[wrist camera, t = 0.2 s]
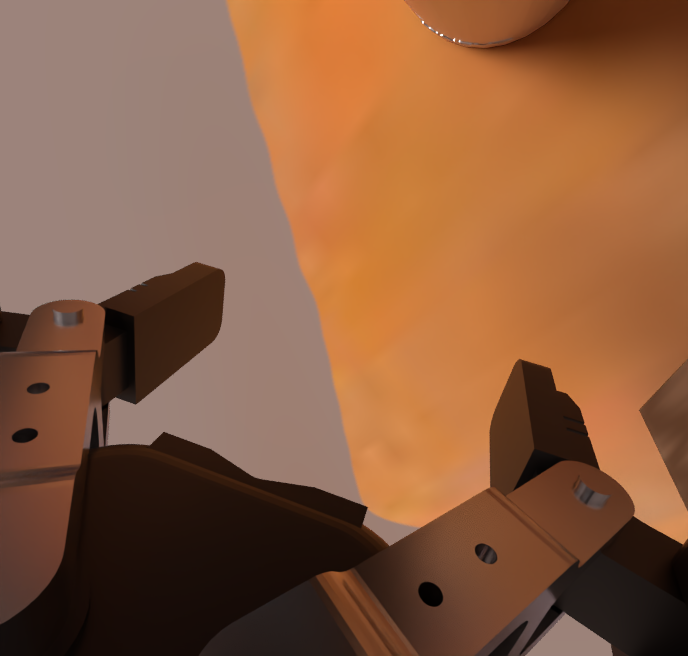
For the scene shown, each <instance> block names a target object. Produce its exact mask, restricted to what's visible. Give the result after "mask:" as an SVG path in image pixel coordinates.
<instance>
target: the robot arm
mask: <svg viewBox="0 0 688 656" xmlns="http://www.w3.org/2000/svg"><path fill="white" fill-rule="evenodd" d="M404 1H405V2H406V3H407V4H408V5H409V7H410V8H411V9H412V10H413V11H414V12H415V13H416V15H417V16H418V17H419V18H420V19H421V22H422V23H423V24H424V25H425V26H427V27H428V28H429V29H430V30H432V31H433V32H434V33H436V34H438V35H439V36H441V37H442V38H444V39H445V40H447V41H450V42H453V43H456V44H459V45H462V46H465V47H477V48H488V47H494V46H500V45H506V44H508V43H511V42H513V41H516V40H518V39H521V38H524V37H526V36H528V35H529V34H531V33H532V32H534V31H535V30H537V29H538V28H540V27H542V26H543V25H545V24H546V23H547V22H548V21H550V20H551V19H552V18H553V17H554V16H555V15H556V14H557V13H558V12H559V11H560V10H561V9H562V8H564V7H565V6H566V4H567V3H568V2H569V1H570V0H404ZM224 288H225V274H224V272H223V270H221V269H218V268H215V267H211V266H208V265H205V264H201V263H198V262H195V263H192V264H190V265H188V266H186V267H184V268H182V269H180V270H178V271H176V272H174V273H171V274H166V275H162V276H156V277H154V278H151V279H149V280H147V281H145V282H143V283H142V284H141V285H140V284H139V285H137V286H135V287H133V288H131V289H130V290H126V291H124V292H122V293H120V294H118V295H116V296H114V297H112V298H110V299H107V300H106V301H103V302H101V303H99V304H95V303H93V302H89V301H84V300H58V301H52V302H49V303H45V304H43V305H40V306H38V307H37V308H35V309H34V310H33V311H32V312H31V314H30V315H25V314H19V313H10V312H3V311H1V308H0V656H525V655H526V654H527V653H528V652H529V651H530V650H531V649H532V648H533V647H534V646H535V645H536V644H537V643H538V642H539V641H540V640H541V639H542V638H543V637H544V636H545V635H546V633H548V631H549V630H550V629H551V628H552V627H553V626H554V625H555V624H556V623H557V622H558V621H559V620H560V619H561V618H562V617H563V616H564V615H565V613H566V614H568V615H569V616H571V617H572V618H574V619H575V620H576V621H578V622H579V623H581V624H583V625H584V626H585V627H587V628H588V629H590V630H591V631H593V632H594V633H596V634H597V635H599V636H600V637H602V638H603V639H605V640H606V641H607V642H609V643H610V644H611V648H612V653H613V656H688V539H687V540H686V542H685V543H684V544H681V543H679V542H677V541H675V540H674V539H672V538H670V537H668V536H666V535H665V534H663V533H661V532H659V531H657V530H655V529H654V528H652V527H650V526H648V525H647V524H645V523H643V522H642V521H640V520H638V519H637V518H636V517H634V516H633V515H634V512H635V508H634V504H633V501H632V499H631V497H630V496H629V494H628V493H627V492H626V490H625V489H624V488H623V487H622V486H621V485H620V484H619V483H618V482H617V481H615V480H614V479H613V478H612V477H610V476H609V475H607V474H606V473H604V472H603V471H601V470H600V469H599V465H598V462H597V459H596V456H595V453H594V450H593V447H592V444H591V441H590V438H589V437H588V432H587V429H586V426H585V425H584V420H583V417H582V414H581V410H580V408H579V407H578V406H577V405H576V404H575V402H574V401H573V400H572V399H571V398H570V397H569V395H568V394H566V393H563V392H560V391H556V387H555V383H554V379H553V375H552V372H551V369H550V368H548V367H544V366H541V365H537V364H534V363H531V362H527V361H524V360H521V359H519V360H518V361H517V362H516V363H515V365H514V367H513V369H512V372H511V374H510V376H509V379H508V381H507V383H506V386H505V388H504V390H503V393H502V395H501V397H500V400H499V402H498V404H497V407H496V409H495V412H494V414H493V418H492V421H491V426H490V488H488V489H486V490H484V491H482V492H481V493H479V494H477V495H476V496H474V497H472V498H471V499H469V500H467V501H465V502H464V503H462V504H460V505H459V506H457V507H455V508H454V509H452V510H450V511H448V512H447V513H445V514H443V515H442V516H440V517H438V518H437V519H435V520H433V521H432V522H430V523H428V524H426V525H425V526H423V527H421V528H420V529H418V530H416V531H415V532H413V533H411V534H410V535H408V536H406V537H404V538H403V539H401V540H399V541H398V542H396V543H394V544H393V545H391V546H389V545H388V544H387V543H386V542H385V541H384V540H383V539H382V538H380V537H379V536H378V535H377V534H375V533H374V532H373V531H372V530H370V529H369V528H367V527H366V526H364V525H363V521H364V518H365V514H366V511H367V508H368V507H366V506H364V505H361V504H358V503H355V502H353V501H350V500H347V499H345V498H342V497H339V496H336V495H334V494H331V493H328V492H325V491H323V490H320V489H317V488H315V487H308V486H301V485H295V484H288V483H281V482H275V481H269V480H262V479H258V478H254V477H253V476H251V475H249V474H248V473H246V472H245V471H243V470H242V469H240V468H239V467H237V466H236V465H234V464H233V463H231V462H230V461H228V460H226V459H225V458H223V457H222V456H220V455H219V454H217V453H216V452H214V451H212V450H211V449H209V448H206V447H203V446H200V445H198V444H195V443H192V442H190V441H187V440H184V439H181V438H179V437H176V436H174V435H171V434H168V433H165V432H163V433H162V434H161V435H160V436H159V437H158V438H157V439H156V440H155V441H154V442H153V443H152V444H151V445H139V444H138V445H137V444H122V445H121V444H119V445H110V446H108V435H109V421H110V401H111V400H112V399H113V398H115V397H116V398H119V399H122V400H124V401H127V402H130V403H133V404H137V403H138V402H140V401H141V400H142V399H143V398H145V397H146V396H147V395H148V394H149V393H151V392H152V391H153V390H154V389H156V388H157V387H158V386H159V385H160V384H162V383H163V382H164V381H165V380H167V379H168V378H169V377H170V376H171V375H172V374H174V373H175V372H176V371H177V370H179V369H180V368H181V367H182V366H184V365H185V364H186V363H187V362H189V361H190V360H191V359H192V358H193V357H195V356H196V355H197V354H198V353H200V352H201V351H202V350H203V349H204V348H206V347H207V346H208V345H209V344H210V343H212V342H213V341H214V340H215V338H216V337H217V335H218V333H219V330H220V327H221V322H222V313H223V300H224Z"/></svg>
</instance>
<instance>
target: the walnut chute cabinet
mask: <svg viewBox="0 0 688 656" xmlns="http://www.w3.org/2000/svg"><path fill="white" fill-rule="evenodd" d="M639 411H640V413H641V415H642V417H643V419H644V421H645V423H646V425H647V427H648V429H649V431H650V433H651V436H652V438H653V440H654V442H655V444H656V446H657V448H658V450H659V452H660V454H661V456H662V458H663V461H664V463H665V465H666V467H667V469H668V471H669V473H670V475H671V477H672V479H673V481H674V483H675V485H676V488H677V490H678V492H679V494H680V496H681V498H682V500H683V502H684V504H685V506H686V508H687V510H688V359H687V360H686V361H685V363H684V364H683V365H682V366H681V367H680V368H679V369H678V370H677V371H676V372H675V373H674V374H673V375H672V376H671V377H670V378H669V379H668V380H667V381H666V383H665V384H664V385H663V386H662V387H661V388H660V389H659V390H658V391H657V392H656V393H655V394H654V395H653V396H652V397H651V398H650V399H649V400H648V401H647V403H646V404H645V405H644V406H643V407H642V408H641V409H640V410H639Z"/></svg>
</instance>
